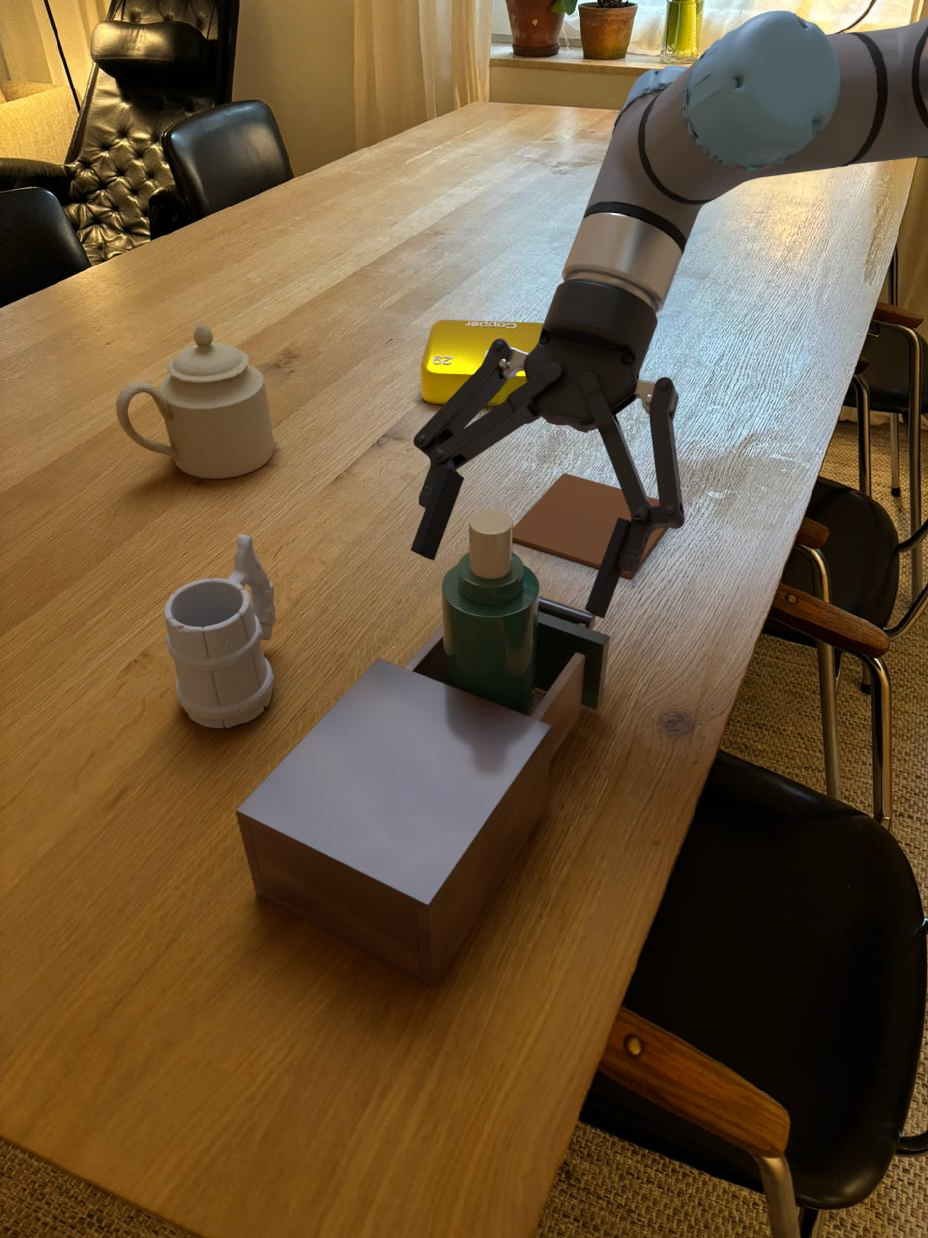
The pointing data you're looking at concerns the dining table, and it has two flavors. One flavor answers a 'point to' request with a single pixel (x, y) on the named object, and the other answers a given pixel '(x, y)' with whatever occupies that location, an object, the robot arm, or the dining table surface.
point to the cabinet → (398, 816)
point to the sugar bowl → (208, 411)
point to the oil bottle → (491, 617)
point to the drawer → (549, 665)
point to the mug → (223, 643)
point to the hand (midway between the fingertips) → (504, 584)
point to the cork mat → (577, 521)
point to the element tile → (470, 355)
